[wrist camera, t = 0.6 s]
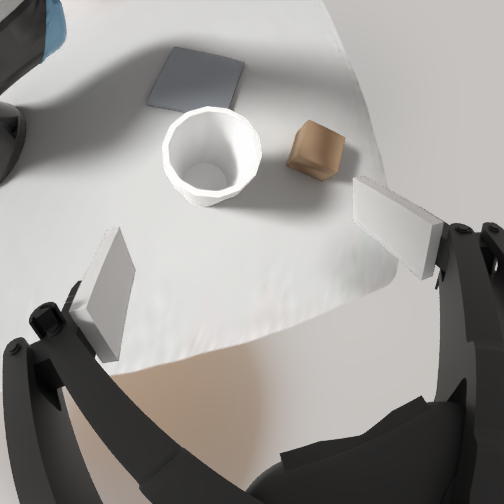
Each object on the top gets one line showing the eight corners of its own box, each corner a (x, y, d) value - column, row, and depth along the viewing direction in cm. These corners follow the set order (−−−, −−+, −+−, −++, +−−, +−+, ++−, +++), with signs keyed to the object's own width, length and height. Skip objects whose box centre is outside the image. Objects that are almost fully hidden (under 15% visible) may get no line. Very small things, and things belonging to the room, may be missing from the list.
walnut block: (286, 166, 41) (298, 154, 36) (296, 133, 41) (308, 119, 37) (321, 181, 42) (337, 172, 37) (330, 148, 43) (345, 137, 38)
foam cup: (225, 144, 39) (242, 97, 26) (248, 204, 39) (276, 178, 27) (161, 165, 37) (150, 123, 24) (182, 228, 37) (179, 211, 25)
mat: (147, 105, 36) (146, 102, 36) (174, 49, 37) (174, 46, 37) (223, 122, 39) (224, 119, 38) (243, 65, 40) (244, 62, 39)
